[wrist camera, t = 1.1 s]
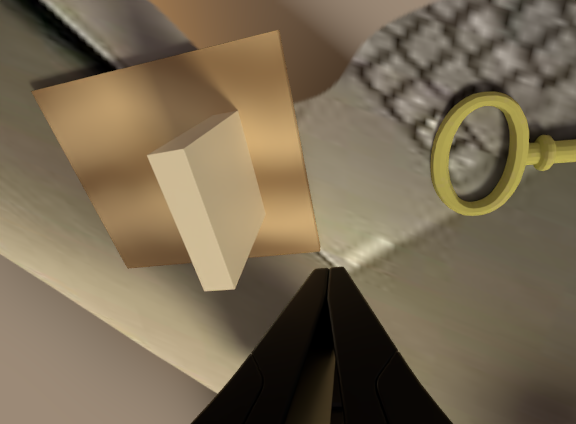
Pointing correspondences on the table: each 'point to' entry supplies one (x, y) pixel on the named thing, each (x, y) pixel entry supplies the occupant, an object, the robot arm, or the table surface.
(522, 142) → the key
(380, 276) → the table surface
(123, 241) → the mat
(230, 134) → the tile
